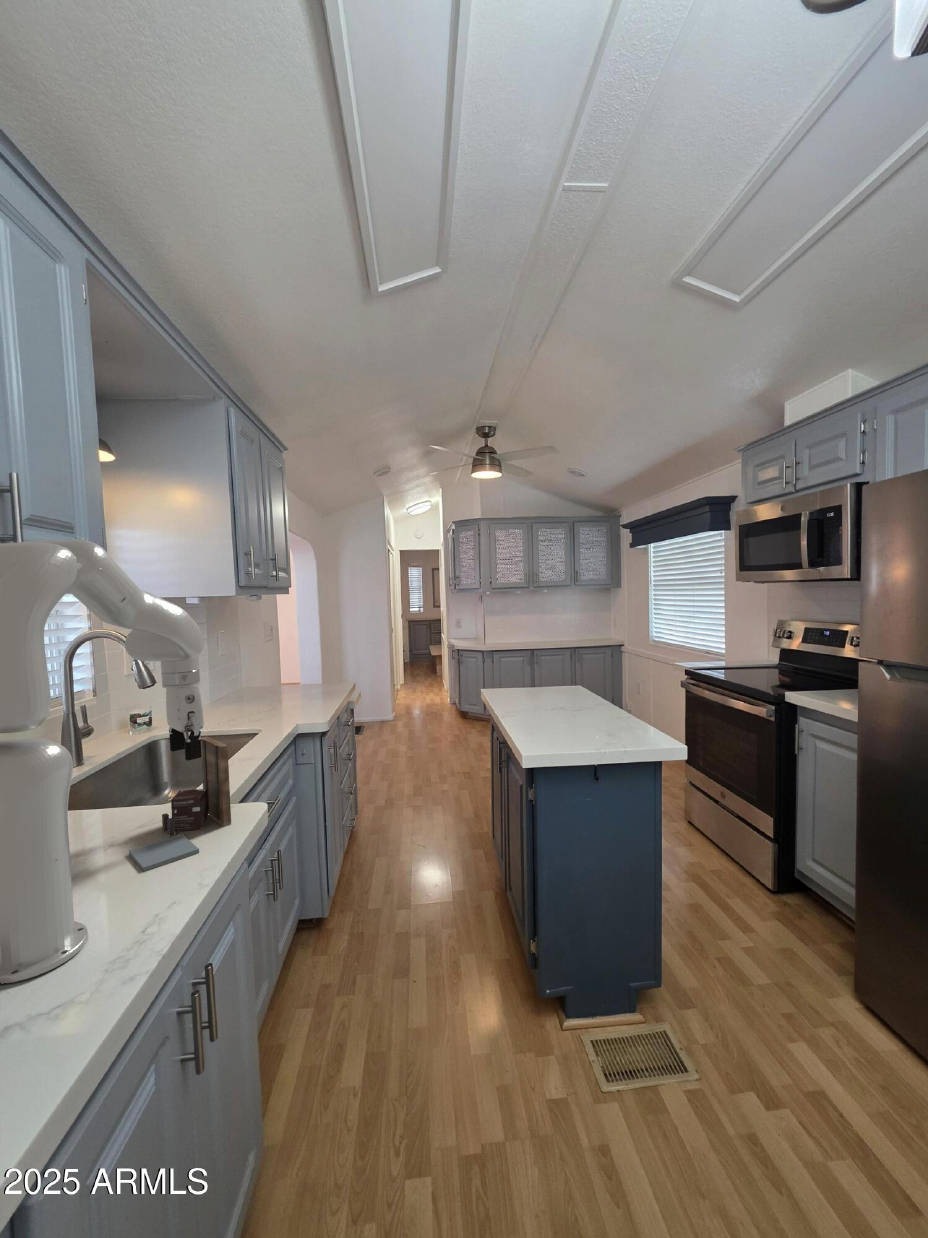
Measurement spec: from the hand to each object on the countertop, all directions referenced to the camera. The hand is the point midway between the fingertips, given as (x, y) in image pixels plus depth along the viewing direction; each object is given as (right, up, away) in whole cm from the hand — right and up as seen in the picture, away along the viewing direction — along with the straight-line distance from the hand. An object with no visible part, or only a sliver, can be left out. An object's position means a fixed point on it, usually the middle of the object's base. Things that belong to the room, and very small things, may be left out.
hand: (185, 754), depth 122 cm
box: (+1, -17, +1) cm, 17 cm away
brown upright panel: (+1, -16, +1) cm, 16 cm away
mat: (+2, -17, -12) cm, 21 cm away
